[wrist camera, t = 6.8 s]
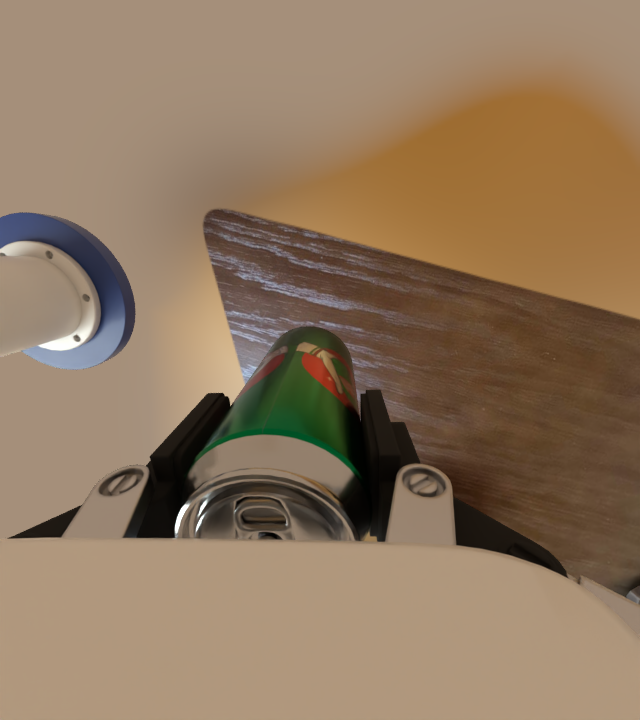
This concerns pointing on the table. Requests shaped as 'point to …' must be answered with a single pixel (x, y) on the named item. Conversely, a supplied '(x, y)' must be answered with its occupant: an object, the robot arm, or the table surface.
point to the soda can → (285, 452)
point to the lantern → (634, 595)
